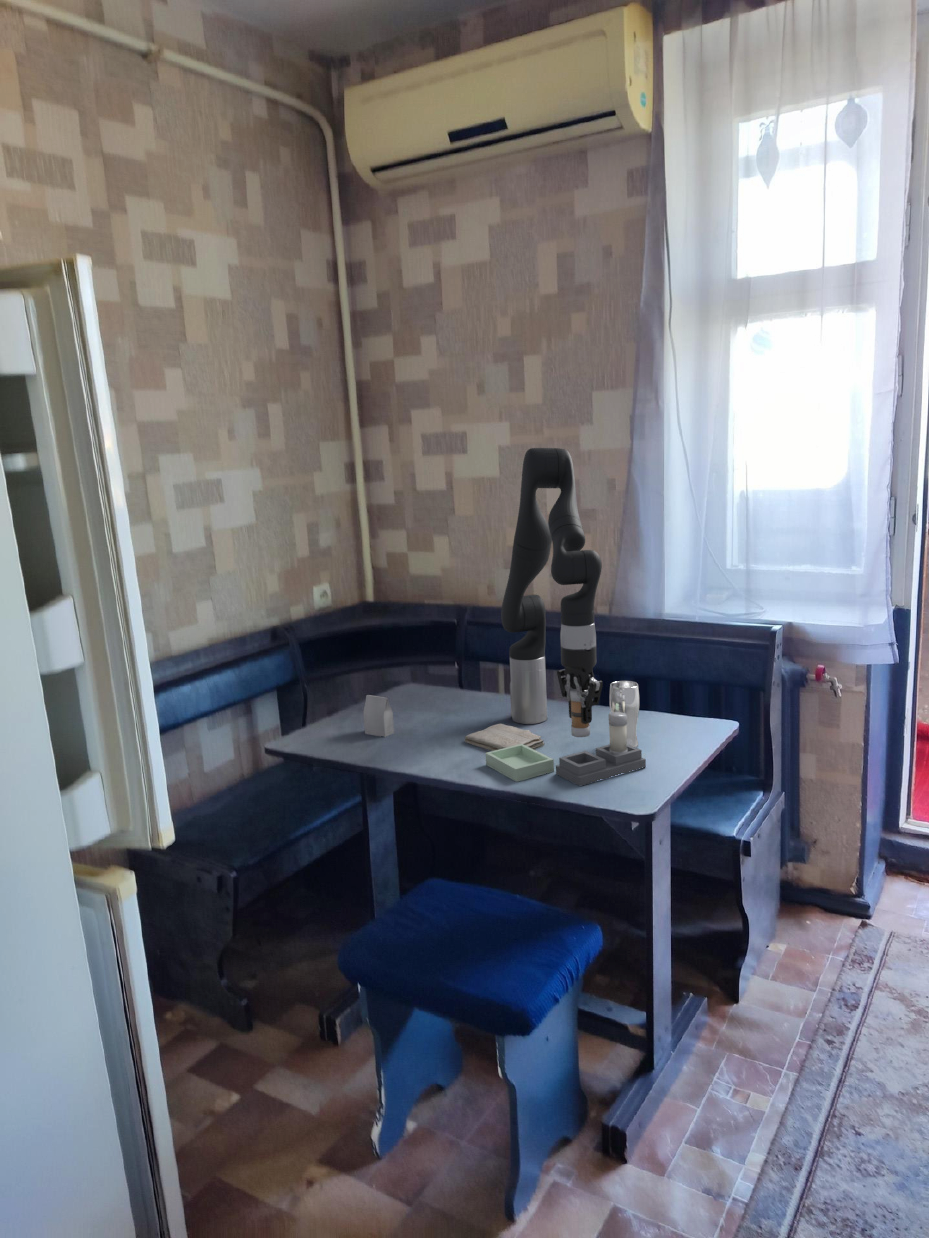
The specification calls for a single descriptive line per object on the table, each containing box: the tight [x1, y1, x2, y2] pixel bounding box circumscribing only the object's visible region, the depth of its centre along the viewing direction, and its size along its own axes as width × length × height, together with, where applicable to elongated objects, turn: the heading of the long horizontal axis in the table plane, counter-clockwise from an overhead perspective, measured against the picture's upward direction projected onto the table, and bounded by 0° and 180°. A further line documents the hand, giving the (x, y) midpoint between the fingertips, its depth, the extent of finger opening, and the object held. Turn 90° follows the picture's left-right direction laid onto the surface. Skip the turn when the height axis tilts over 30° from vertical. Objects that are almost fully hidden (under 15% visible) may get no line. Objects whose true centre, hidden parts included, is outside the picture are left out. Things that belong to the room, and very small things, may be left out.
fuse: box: [608, 712, 628, 755], centre depth 202 cm, size 4×4×10 cm
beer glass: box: [609, 680, 640, 748], centre depth 216 cm, size 7×7×15 cm
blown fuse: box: [570, 689, 591, 738], centre depth 196 cm, size 4×4×10 cm
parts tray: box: [485, 744, 555, 782], centre depth 206 cm, size 13×10×3 cm
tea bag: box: [362, 694, 395, 738], centre depth 235 cm, size 4×7×10 cm, turn 56°
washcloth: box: [464, 723, 545, 751], centre depth 223 cm, size 12×18×3 cm, turn 43°
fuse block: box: [555, 743, 647, 786], centre depth 201 cm, size 9×18×4 cm, turn 119°
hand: (580, 719), depth 197 cm, fingers closed on blown fuse, 4 cm apart
